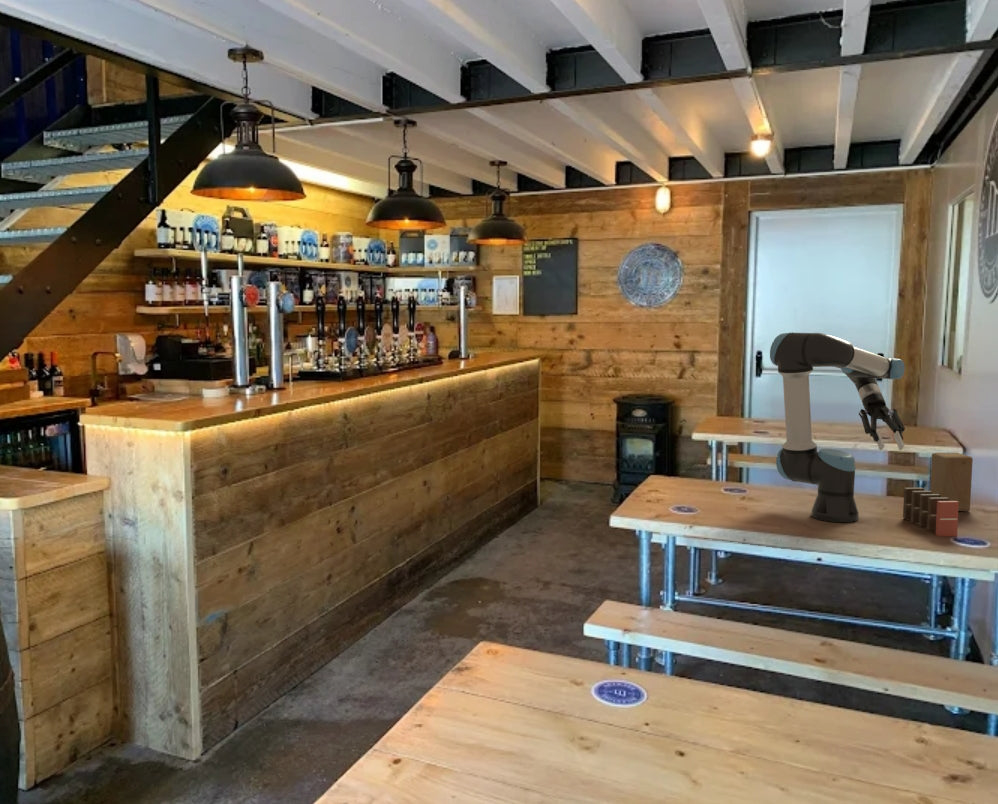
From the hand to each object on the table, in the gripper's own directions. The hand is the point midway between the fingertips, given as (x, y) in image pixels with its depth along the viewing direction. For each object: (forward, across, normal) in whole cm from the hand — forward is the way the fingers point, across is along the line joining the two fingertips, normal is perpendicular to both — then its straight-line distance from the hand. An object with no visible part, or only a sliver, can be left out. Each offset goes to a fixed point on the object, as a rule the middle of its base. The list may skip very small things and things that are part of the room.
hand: (892, 447), depth 284 cm
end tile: (+41, 0, +10) cm, 42 cm away
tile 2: (+31, 0, -1) cm, 31 cm away
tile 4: (+38, 0, +6) cm, 38 cm away
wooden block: (+17, -21, -15) cm, 31 cm away
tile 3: (+34, 0, +2) cm, 34 cm away
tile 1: (+27, 0, -5) cm, 28 cm away
